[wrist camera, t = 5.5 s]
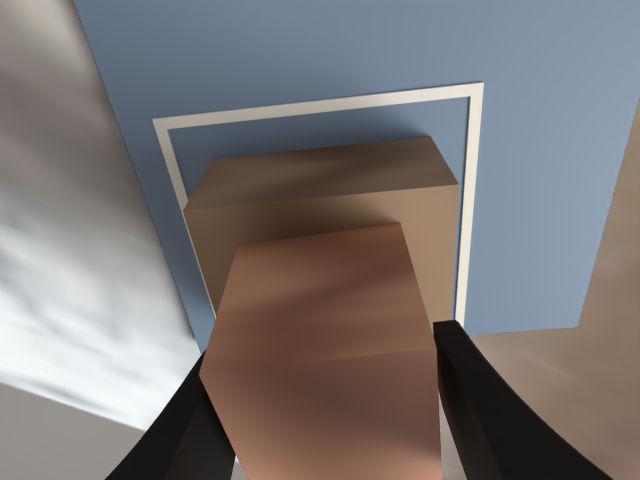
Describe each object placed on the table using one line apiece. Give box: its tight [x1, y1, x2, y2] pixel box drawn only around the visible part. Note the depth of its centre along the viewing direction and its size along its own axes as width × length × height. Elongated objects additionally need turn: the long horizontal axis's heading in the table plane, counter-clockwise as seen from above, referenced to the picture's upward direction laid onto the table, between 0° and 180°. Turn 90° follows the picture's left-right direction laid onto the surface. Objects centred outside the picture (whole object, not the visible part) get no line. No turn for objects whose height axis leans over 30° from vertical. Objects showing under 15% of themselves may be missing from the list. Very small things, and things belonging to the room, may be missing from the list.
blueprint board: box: [73, 0, 640, 355], centre depth 17 cm, size 18×16×1 cm
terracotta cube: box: [199, 223, 442, 480], centre depth 13 cm, size 5×5×5 cm
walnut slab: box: [183, 136, 459, 334], centre depth 17 cm, size 8×8×4 cm
